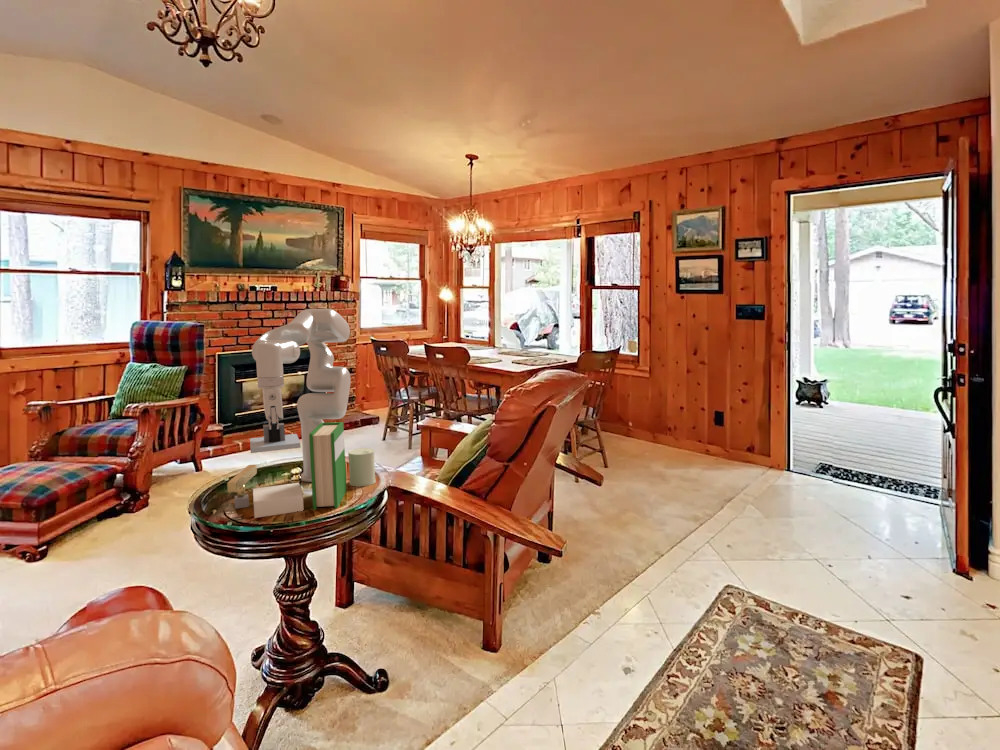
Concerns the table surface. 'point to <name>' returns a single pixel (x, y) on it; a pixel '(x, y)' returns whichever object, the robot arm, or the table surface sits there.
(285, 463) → the table surface
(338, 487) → the hardback book
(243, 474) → the tan wooden plank
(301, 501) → the box
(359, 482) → the can
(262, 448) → the snap lid
